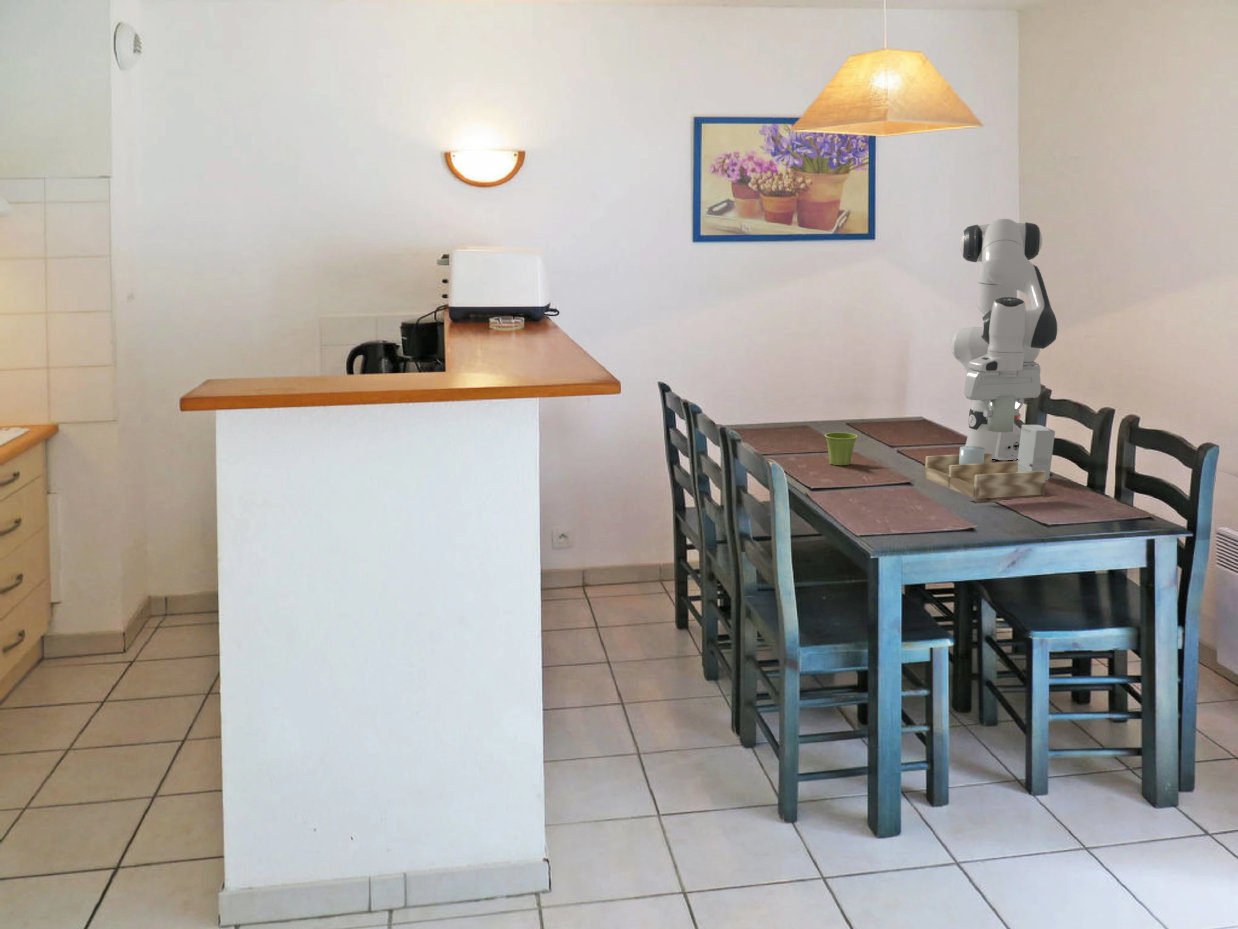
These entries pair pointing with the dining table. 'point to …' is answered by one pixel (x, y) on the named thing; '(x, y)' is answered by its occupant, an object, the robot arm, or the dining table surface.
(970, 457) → the pale blue-grey rounded dome
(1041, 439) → the skincare box
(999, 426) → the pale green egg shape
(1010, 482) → the rack
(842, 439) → the plant pot
